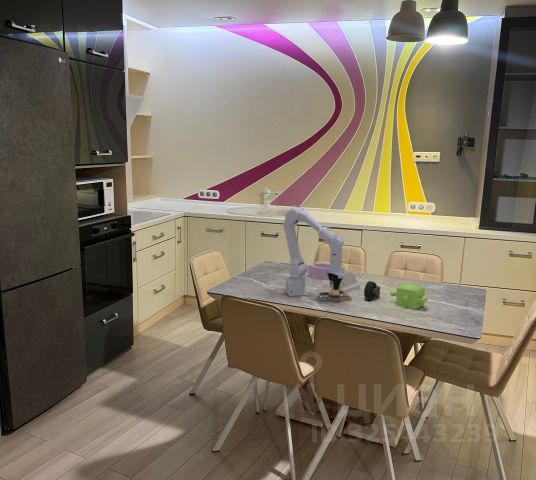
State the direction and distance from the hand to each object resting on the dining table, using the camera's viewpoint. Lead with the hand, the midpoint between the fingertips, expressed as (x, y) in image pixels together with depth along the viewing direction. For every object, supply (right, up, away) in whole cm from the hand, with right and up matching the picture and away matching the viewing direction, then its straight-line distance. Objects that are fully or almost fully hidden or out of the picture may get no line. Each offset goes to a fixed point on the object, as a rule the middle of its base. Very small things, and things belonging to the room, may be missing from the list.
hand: (334, 288), depth 244 cm
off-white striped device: (+9, -3, +19) cm, 21 cm away
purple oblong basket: (+1, +2, +41) cm, 41 cm away
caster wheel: (+20, -5, +6) cm, 21 cm away
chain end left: (-3, -6, 0) cm, 6 cm away
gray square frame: (-4, -4, +7) cm, 9 cm away
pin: (0, -3, +1) cm, 3 cm away
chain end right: (+3, -5, +2) cm, 6 cm away
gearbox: (+35, -8, -5) cm, 36 cm away
